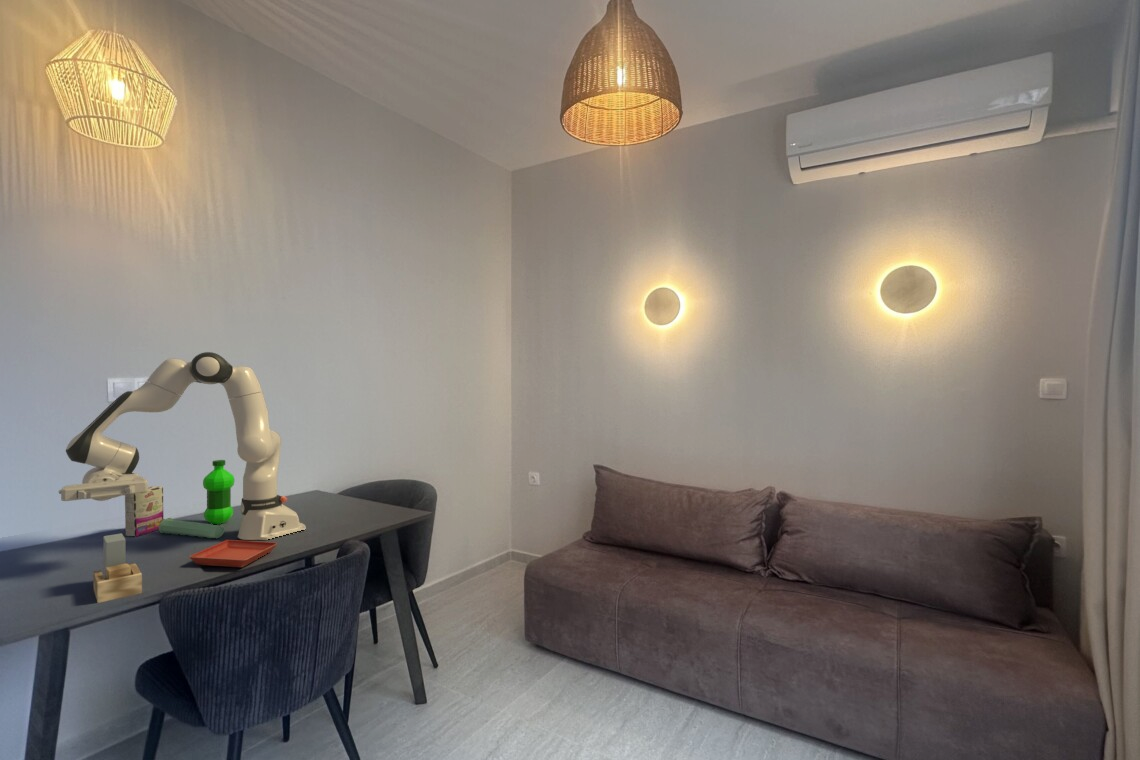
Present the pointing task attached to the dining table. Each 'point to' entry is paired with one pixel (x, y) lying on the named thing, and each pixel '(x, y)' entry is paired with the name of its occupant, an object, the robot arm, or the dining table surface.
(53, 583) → the dining table surface
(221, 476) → the plastic bottle
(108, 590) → the rack
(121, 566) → the offcut upper
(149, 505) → the candy bar box
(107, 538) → the grey rectangular block
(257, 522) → the robot arm
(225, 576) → the dining table surface
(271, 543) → the plant saucer
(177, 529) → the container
